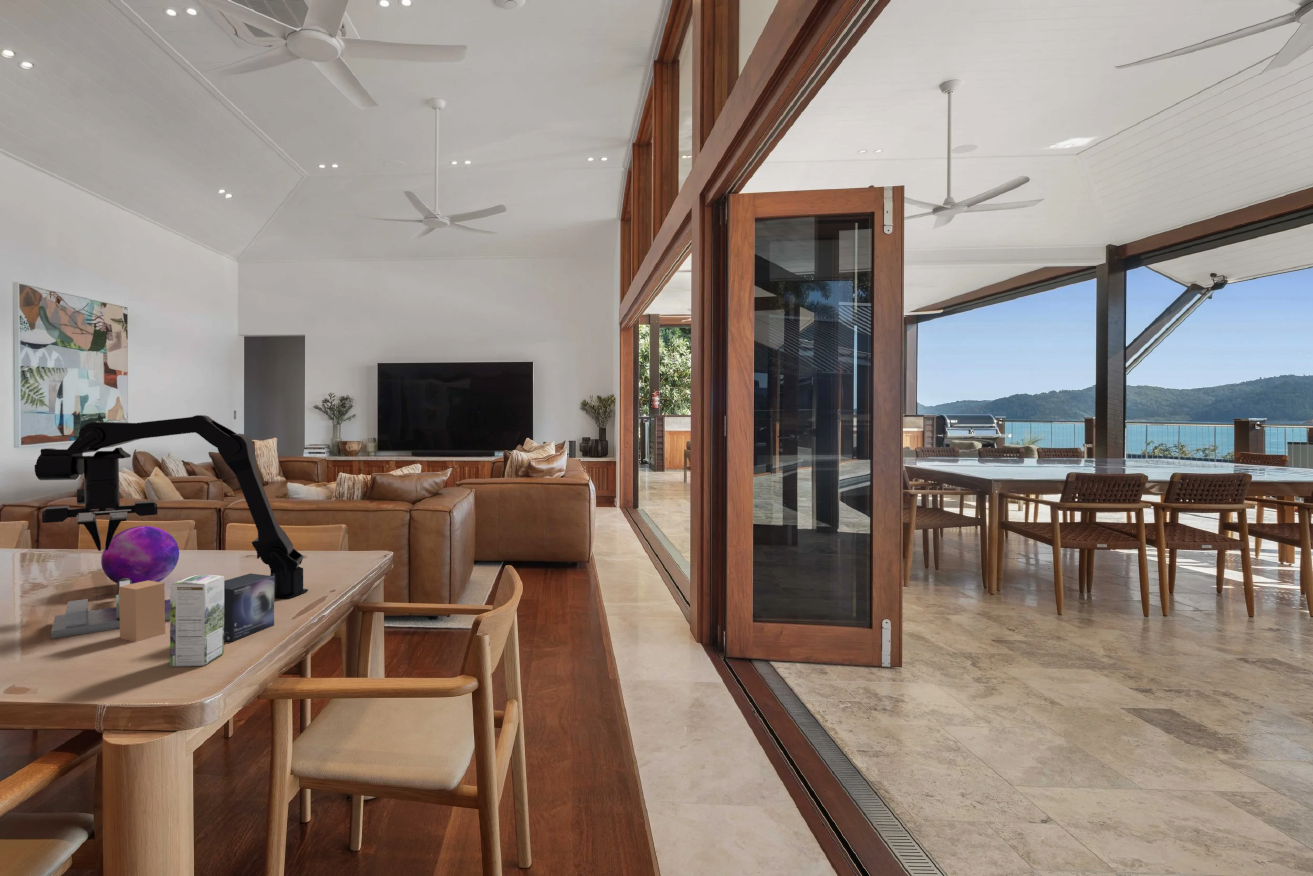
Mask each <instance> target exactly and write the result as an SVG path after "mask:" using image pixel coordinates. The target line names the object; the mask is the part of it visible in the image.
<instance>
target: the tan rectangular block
mask: <svg viewBox="0 0 1313 876" xmlns="http://www.w3.org/2000/svg"><path fill="white" fill-rule="evenodd" d="M165 593H166V592H165V582H161V581H160V582H155V581H149V580H148V581H143V582H138V583H134V584H129V585H124V586H120V587H119V588H118V595H119V611H120V628H119V638H120V639H122V640H127V641H130V642H131V641H132V642H141V641H144V640H147V639H151V638H154V637H157V636H160V635H161V636H162V635H166V621H165V600H166V598H165V597H166V596H165Z"/></svg>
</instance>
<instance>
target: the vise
mask: <svg viewBox="0 0 1313 876" xmlns="http://www.w3.org/2000/svg"><path fill="white" fill-rule="evenodd" d="M166 621H170V598H169V599H165V622H166ZM116 629H120V618H117V617H116V606H113V607H108V608H100V609H99V608H98V609H93V610H89V599H88V598H86V599H78V600H70V601H67V605H66V609H65V613H64V614H59V615H58V614H57V615H54V620H53V623H52V627H51V630H50V639H51V640H52V639H58V638H59V639H60V638H66V637H67V638H68V637H70V636H71V637H72V636H79V635H85V634H90V633H97V632H102V631H110V630H116Z"/></svg>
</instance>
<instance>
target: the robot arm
mask: <svg viewBox="0 0 1313 876" xmlns="http://www.w3.org/2000/svg"><path fill="white" fill-rule="evenodd" d="M193 433H196V434H197V435H198V436H200V437H201V438H203V440H205V441H206V442H207V443H209V444H211V446H213V447H215V448H217V451H218V454H219V455H220V456H221V458H222V459H223V461H224V463H225V465H226V466H228V468H229V469H230V470H231V471H232V472H233V473H234V475H235V477H236V479H237V481H238V484H239V487H240V489H241V492H242V495H243V497H244V499H245V502H246V505H247V507H248V510H249V512H250V515H251V517H252V520H253V522H254V525H255V528H256V531H257V537H256V538H255V539H254V540H252V541H251V544H252V547H253V548H254V549H255V552H256V559H260V560H261V561H262V563H263V564H265V565H268V568H269V569H270V574H269V576H275V577H274V598H279V599H280V598H281V599H292V598H294V597H297V596H298V595H301V594H302V595H303V594H304V593H306V592H308V591H309V589H308V588H304V567H301V566H300V565H301V564H302V562H303V559H304V555H303V554H301V552H299V551H298V550H297V549H295V548H294V545H293V542H292V541H291V538H289V536H288V535H287V533H286V532H285V530H284V529H283V528H282V527H281V526H280V524H278V522H277V519H276V517H275V514H274V511H273V509H272V507H271V503H270V501H269V499H268V496H267V493H266V490H265V487H264V486H263V483H262V480H261V478H260V476H259V472H258V470H257V462H256V461H257V460H256V457H257V455H256V451H255V445H254V442H253V439H252V438H251V437H250V436H248V435H247V434H244V433H237V432H235V431H233V430H232V429H230V428H228V427H226V426H225V425H223V424H221V423H219V422H217V421H216V420H214V419H212V417H210V416H208V415H202V414H199V415H198V414H197V415H193V416H188V417H181V418H180V417H178V418H170V419H162V420H161V419H160V420H152V421H142V422H125V421H124V422H123V421H122V422H121V421H120V422H119V421H95V422H94V421H91V422H88V423H85V424H83V426H82V427H81V428H80V430H79V432H78V436H77V438H75V440H74V441H73V442H72V443H71V445H70V446H69V447H68V448H63V449H62V448H61V449H60V448H59V449H58V448H50V447H49V448H41V449H40V455H38V457H37V460H36V463H35V464H34V474H35V476H36V478H37V479H38V480H40V481H75V480H77V479H78V478H79V477H80V476H82V475H83V481H84V482H83V484H84V485H83V486H84V488H81V489H76V504H77V505H78V506H79V505H80V506H82V505H84V507H81V508H79V507H77V508H70V505H56V506H55V505H53V506H52V505H51V506H47V507H45V508H44V509H43V510H42V512H41V514H42V515H41V522H42V523H43V524H48V523H49V524H51V523H61V522H65V520H67V519H68V518H76V519H77V522H76V523H77V525H83V526H84V527H85V529H86V530H87V532H89V534H90V536H91V538H92V540H93V542H94V544H95V546H96V549H97V550H98V552H101V551H102V542H101V537H100V534H99V533H100V532H99V528H98V527H99V526H98V520H97V516H109V518H108V525H107V529H106V530H107V532H106V536H105V543H104V544H105V546H104V548H105V550H108V548H109V546H110V543H111V540H112V538H113V537H114V536H115V532H116V531H117V529H118V528H119V526H120V525H121V522H126V521H127V520H128V518H127V515H128V514H136V515H138V516H139V517H147V516H157V515H158V503H157V501H155V500H152V499H151V500H137V501H134V502H133V503H134V504H128V505H126V504H125V505H120V503H121V502H120V463H119V461H120V459H129V458H131V457H132V455H131V454H130V453H128V452H127V451H125V450H124V449H123V448H122V447H121V446H120V445H123V444H124V445H126V444H128V443H132V442H134V441H138V440H141V439H150V438H158V437H159V438H161V437H167V436H168V437H169V436H176V435H184V434H193ZM117 446H120V447H117ZM113 447H115V448H114V449H113V450H101V449H107V448H113ZM94 452H95V453H94ZM84 453H85V454H87V453H94V454H93V455H84Z"/></svg>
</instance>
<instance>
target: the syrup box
mask: <svg viewBox="0 0 1313 876" xmlns="http://www.w3.org/2000/svg"><path fill="white" fill-rule="evenodd" d="M224 581H225V576H223V575H215V574H197V575H191V576H189V577H186V578H183V579H180V580H178V581H175V582H173V583H171V584H170V593H169V595H170V596H169V597H170V598H169V599H170V620H169V621H170V623H169V627H170V628H169V634H170V635H169V637H170V638H169V639H170V640H169V663H170V664H169V665H170V667H197V666H198V667H201V666H202V667H203V666H206V665H208V664H210V663H211V662H213V661H215V660H216V659H218V658H219V657H221V656H222V655H224V653H225V641H224Z"/></svg>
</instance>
